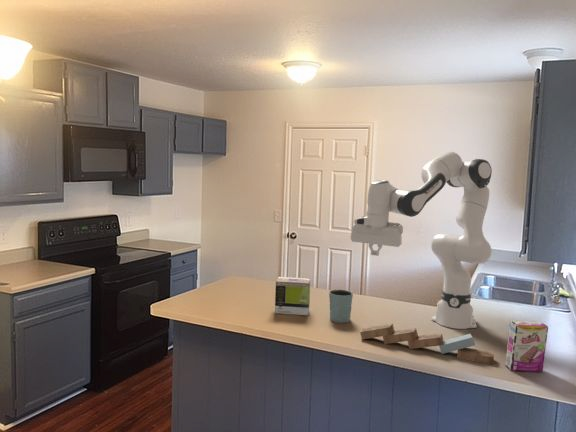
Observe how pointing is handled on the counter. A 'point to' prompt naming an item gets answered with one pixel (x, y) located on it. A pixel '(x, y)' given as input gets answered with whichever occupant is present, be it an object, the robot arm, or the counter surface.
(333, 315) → the teal cup
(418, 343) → the domino
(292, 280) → the tea box
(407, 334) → the domino
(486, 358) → the brown wooden block
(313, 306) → the counter surface
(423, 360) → the counter surface
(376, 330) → the domino
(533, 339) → the candy bar box
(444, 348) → the light blue domino
